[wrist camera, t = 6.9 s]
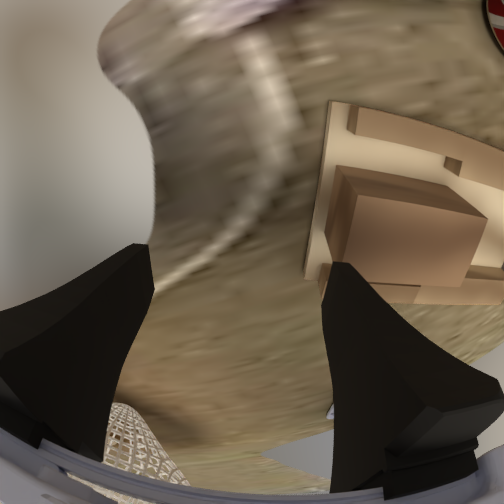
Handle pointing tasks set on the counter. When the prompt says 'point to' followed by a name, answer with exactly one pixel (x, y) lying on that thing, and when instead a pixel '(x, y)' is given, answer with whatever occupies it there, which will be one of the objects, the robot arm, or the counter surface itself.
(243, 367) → the counter surface
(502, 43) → the soda can
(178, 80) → the counter surface
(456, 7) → the counter surface
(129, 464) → the heart
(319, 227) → the tapered wooden tray
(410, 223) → the tan upright prism
